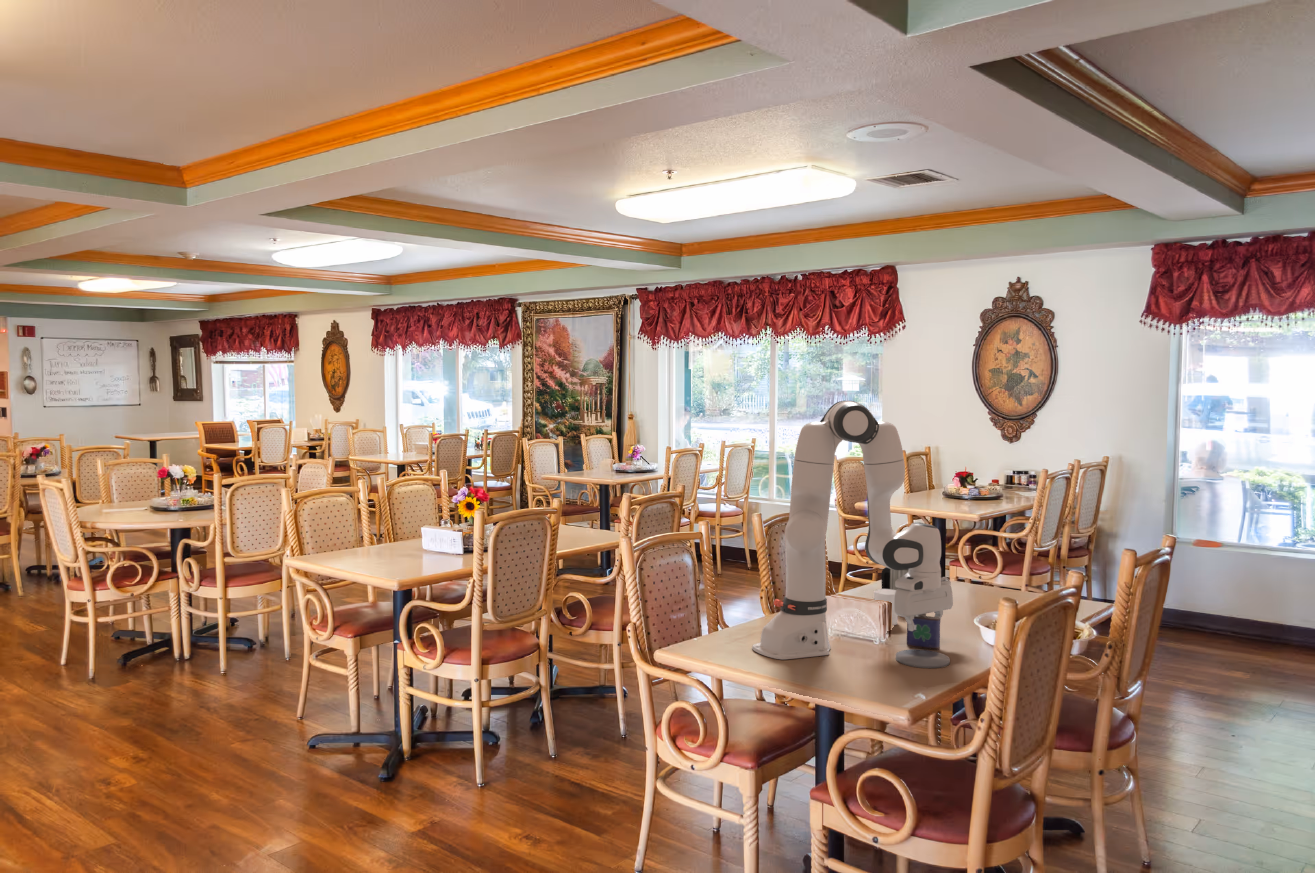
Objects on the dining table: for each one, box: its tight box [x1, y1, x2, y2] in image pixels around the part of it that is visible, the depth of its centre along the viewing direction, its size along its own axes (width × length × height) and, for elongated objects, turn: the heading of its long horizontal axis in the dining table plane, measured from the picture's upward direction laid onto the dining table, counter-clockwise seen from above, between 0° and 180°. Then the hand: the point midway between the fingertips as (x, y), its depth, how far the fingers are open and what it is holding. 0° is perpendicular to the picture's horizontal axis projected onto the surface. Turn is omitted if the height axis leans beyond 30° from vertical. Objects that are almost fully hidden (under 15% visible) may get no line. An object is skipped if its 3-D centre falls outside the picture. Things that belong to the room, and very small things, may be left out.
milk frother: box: [880, 566, 909, 590], centre depth 305 cm, size 14×16×15 cm
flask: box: [906, 613, 941, 651], centre depth 261 cm, size 9×3×11 cm, turn 61°
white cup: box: [873, 588, 899, 626], centre depth 288 cm, size 8×8×10 cm
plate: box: [895, 648, 951, 669], centre depth 248 cm, size 14×14×1 cm
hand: (924, 628), depth 260 cm, fingers open, 8 cm apart
